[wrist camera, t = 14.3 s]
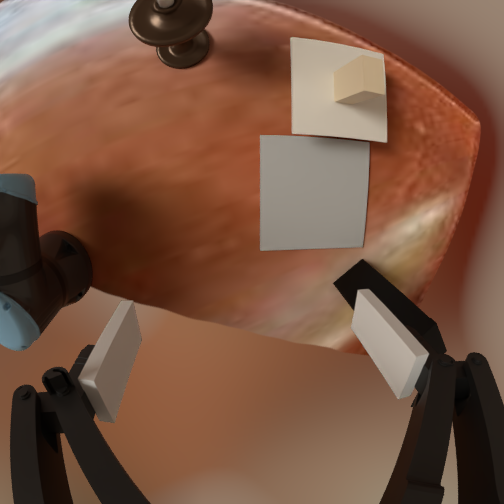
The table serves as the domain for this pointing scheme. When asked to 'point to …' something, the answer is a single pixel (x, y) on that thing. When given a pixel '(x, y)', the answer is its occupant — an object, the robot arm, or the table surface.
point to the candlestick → (173, 29)
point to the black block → (389, 301)
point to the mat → (312, 192)
